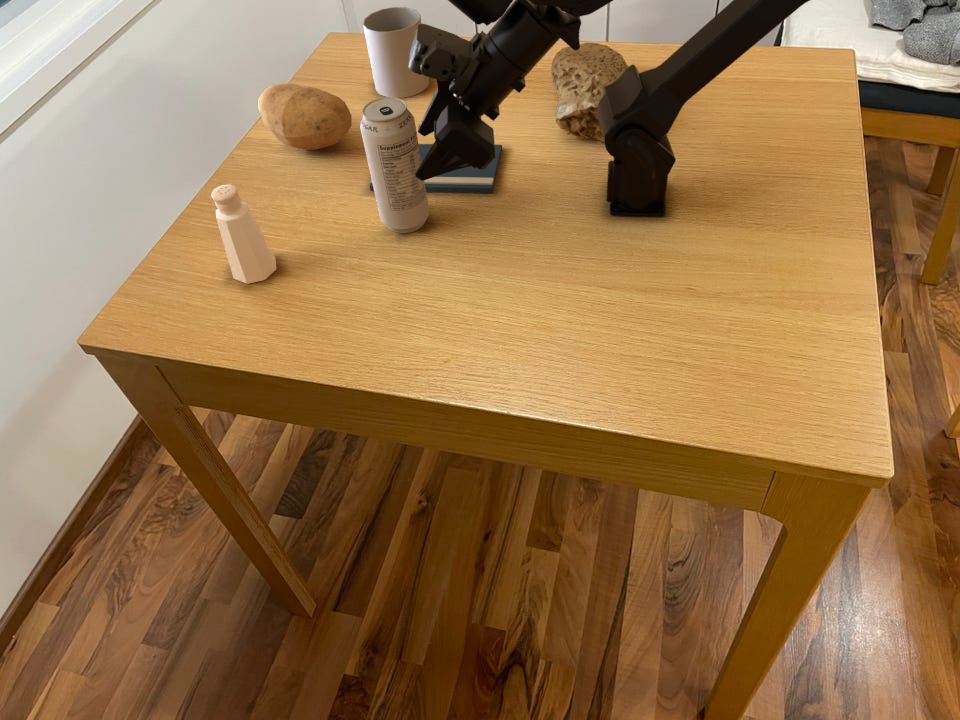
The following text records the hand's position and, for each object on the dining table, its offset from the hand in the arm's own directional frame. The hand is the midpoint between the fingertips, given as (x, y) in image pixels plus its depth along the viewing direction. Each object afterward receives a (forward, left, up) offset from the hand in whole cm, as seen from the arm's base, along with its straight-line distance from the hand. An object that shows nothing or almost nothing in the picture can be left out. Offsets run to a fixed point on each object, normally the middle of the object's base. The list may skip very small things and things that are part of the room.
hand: (419, 154), depth 85 cm
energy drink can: (+3, +1, -9) cm, 10 cm away
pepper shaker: (+19, +11, -9) cm, 24 cm away
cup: (+11, -33, -9) cm, 36 cm away
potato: (+20, -16, -9) cm, 27 cm away
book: (+1, -10, -9) cm, 14 cm away
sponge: (-18, -26, -9) cm, 33 cm away
